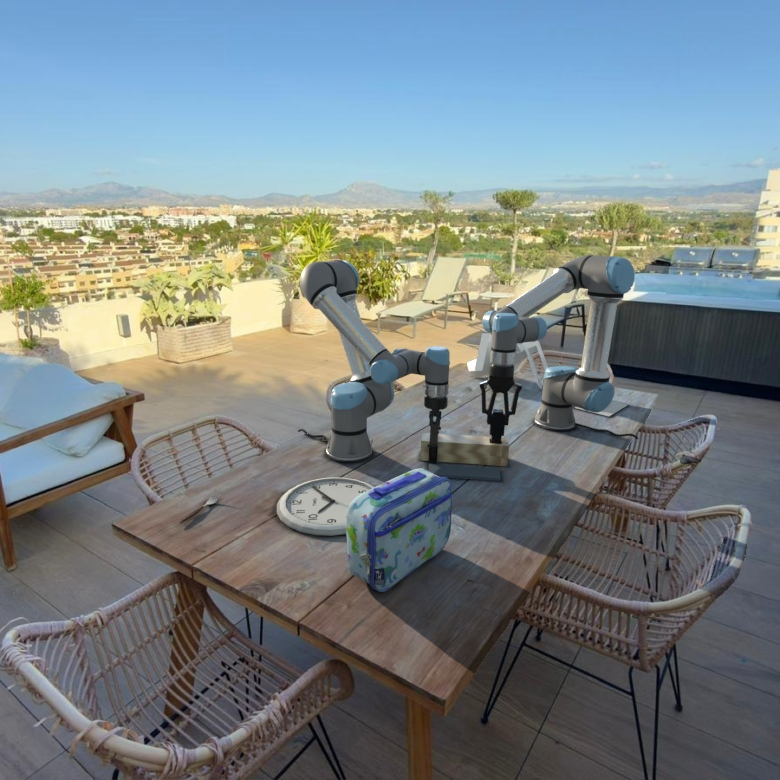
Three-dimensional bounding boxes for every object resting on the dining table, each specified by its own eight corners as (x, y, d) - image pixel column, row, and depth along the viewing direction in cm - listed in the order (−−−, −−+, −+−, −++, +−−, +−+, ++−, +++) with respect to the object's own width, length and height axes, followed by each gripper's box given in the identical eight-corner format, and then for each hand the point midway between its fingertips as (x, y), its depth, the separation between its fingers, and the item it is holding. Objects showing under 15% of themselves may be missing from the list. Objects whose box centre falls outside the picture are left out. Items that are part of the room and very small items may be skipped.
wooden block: (505, 457, 175) (507, 437, 173) (507, 466, 168) (509, 446, 166) (421, 451, 178) (422, 432, 176) (420, 460, 171) (421, 440, 169)
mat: (498, 471, 165) (499, 468, 164) (500, 481, 158) (501, 478, 158) (429, 466, 167) (429, 463, 167) (428, 476, 160) (428, 473, 160)
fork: (175, 524, 132) (174, 517, 132) (215, 495, 146) (215, 489, 146) (183, 526, 131) (182, 519, 131) (223, 497, 146) (222, 490, 145)
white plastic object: (487, 418, 267) (468, 395, 242) (469, 346, 289) (449, 318, 264) (558, 394, 255) (545, 368, 230) (533, 321, 277) (518, 289, 252)
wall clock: (392, 527, 129) (268, 531, 127) (391, 533, 130) (269, 537, 127) (383, 473, 158) (282, 475, 155) (383, 478, 158) (282, 480, 156)
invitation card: (608, 416, 214) (573, 407, 224) (608, 416, 214) (573, 408, 224) (628, 404, 229) (594, 396, 238) (628, 405, 229) (594, 397, 238)
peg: (498, 457, 173) (502, 409, 168) (499, 461, 170) (503, 412, 165) (489, 457, 174) (493, 408, 168) (490, 460, 171) (494, 412, 166)
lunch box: (374, 604, 105) (375, 512, 99) (340, 579, 113) (339, 492, 106) (455, 552, 123) (460, 471, 117) (421, 533, 130) (424, 456, 124)
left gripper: (426, 383, 180) (424, 441, 186) (422, 406, 156) (419, 471, 163) (448, 384, 179) (445, 442, 185) (447, 408, 156) (444, 473, 162)
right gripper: (527, 361, 165) (520, 431, 172) (475, 359, 167) (471, 428, 174) (530, 367, 158) (523, 439, 165) (476, 365, 159) (471, 436, 167)
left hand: (433, 456), depth 174 cm, fingers open, 12 cm apart
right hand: (496, 433), depth 169 cm, fingers closed on peg, 3 cm apart
